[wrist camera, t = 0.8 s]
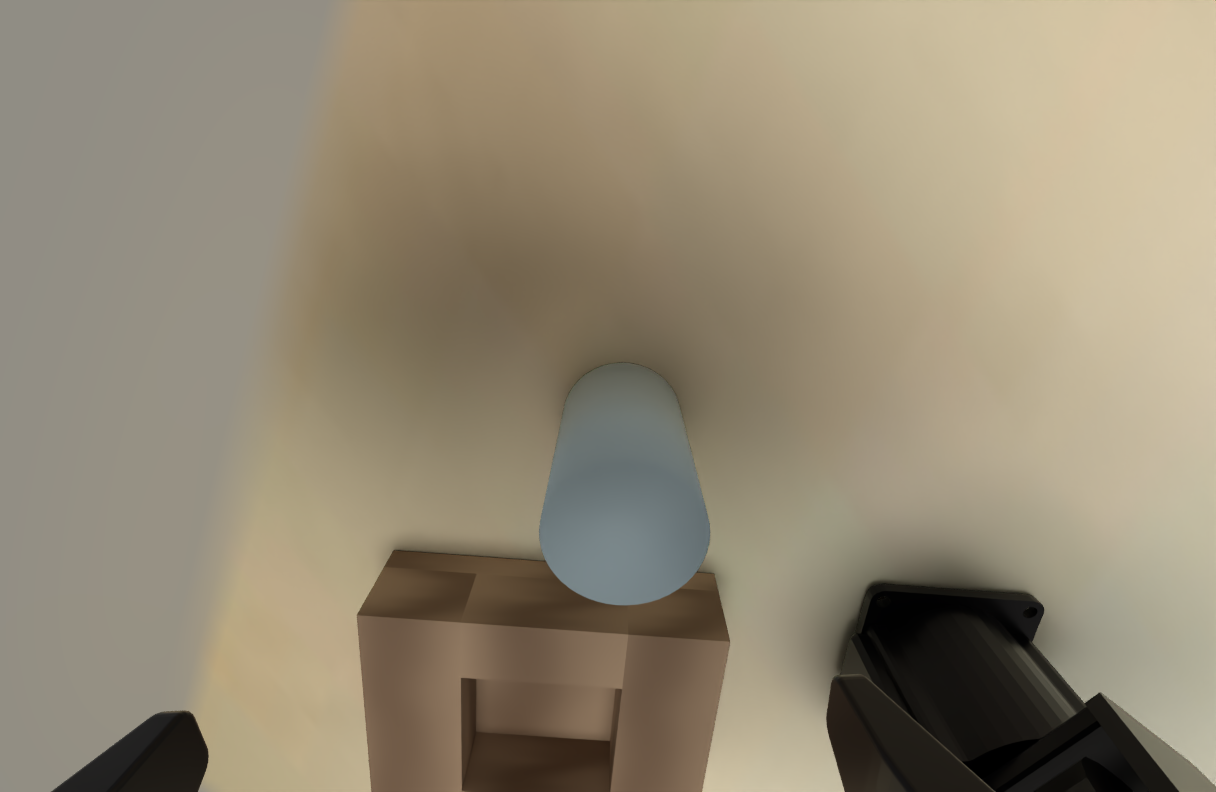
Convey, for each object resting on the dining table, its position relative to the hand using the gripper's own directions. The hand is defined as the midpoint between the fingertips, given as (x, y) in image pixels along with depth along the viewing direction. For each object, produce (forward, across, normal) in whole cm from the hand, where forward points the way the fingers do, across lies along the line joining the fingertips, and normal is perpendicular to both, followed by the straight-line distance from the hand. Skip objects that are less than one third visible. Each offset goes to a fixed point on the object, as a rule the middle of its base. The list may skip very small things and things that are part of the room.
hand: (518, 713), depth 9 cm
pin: (+13, -2, +2) cm, 13 cm away
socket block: (+12, +1, +12) cm, 17 cm away
